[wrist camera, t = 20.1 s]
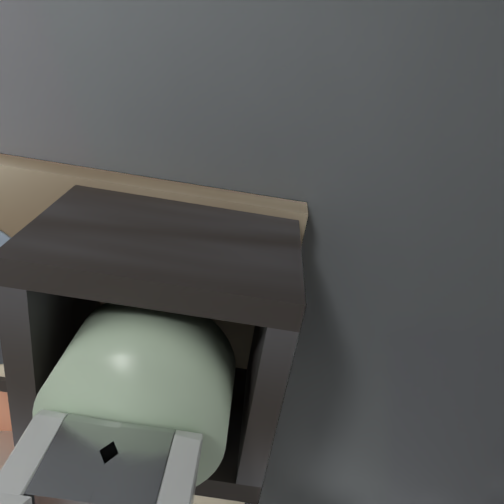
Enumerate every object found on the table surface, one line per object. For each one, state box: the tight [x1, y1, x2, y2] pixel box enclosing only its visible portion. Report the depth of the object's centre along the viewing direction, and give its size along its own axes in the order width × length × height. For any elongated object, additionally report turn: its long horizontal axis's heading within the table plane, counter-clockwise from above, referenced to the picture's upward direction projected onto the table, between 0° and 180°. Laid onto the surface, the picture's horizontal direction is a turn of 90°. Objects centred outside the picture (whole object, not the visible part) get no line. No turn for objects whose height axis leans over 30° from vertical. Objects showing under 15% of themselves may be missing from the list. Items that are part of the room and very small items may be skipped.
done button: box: [32, 303, 236, 486], centre depth 9 cm, size 4×4×2 cm
